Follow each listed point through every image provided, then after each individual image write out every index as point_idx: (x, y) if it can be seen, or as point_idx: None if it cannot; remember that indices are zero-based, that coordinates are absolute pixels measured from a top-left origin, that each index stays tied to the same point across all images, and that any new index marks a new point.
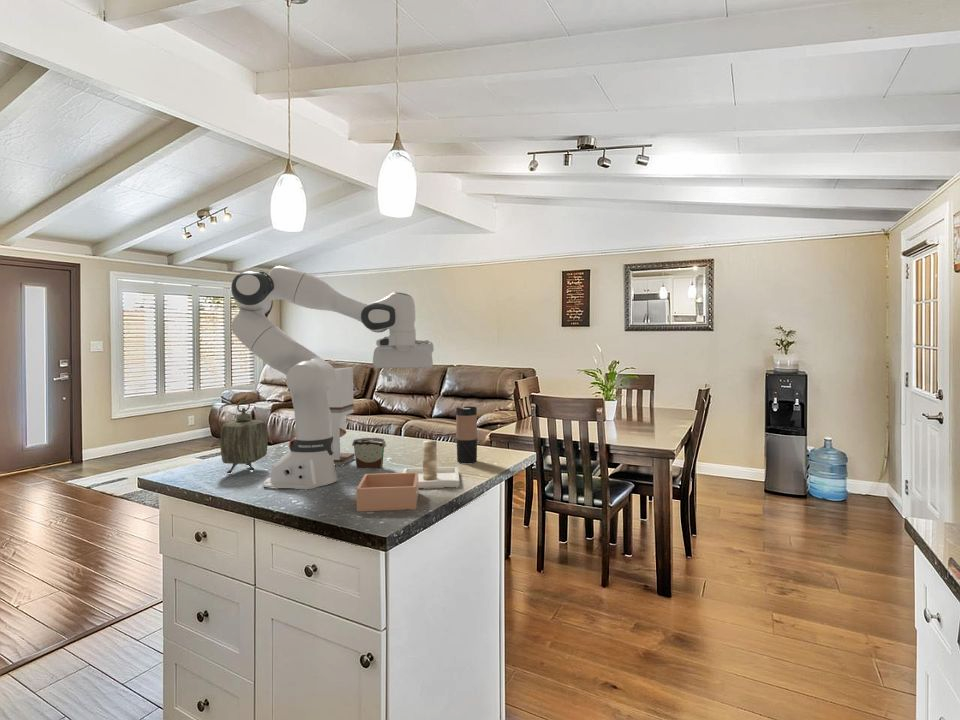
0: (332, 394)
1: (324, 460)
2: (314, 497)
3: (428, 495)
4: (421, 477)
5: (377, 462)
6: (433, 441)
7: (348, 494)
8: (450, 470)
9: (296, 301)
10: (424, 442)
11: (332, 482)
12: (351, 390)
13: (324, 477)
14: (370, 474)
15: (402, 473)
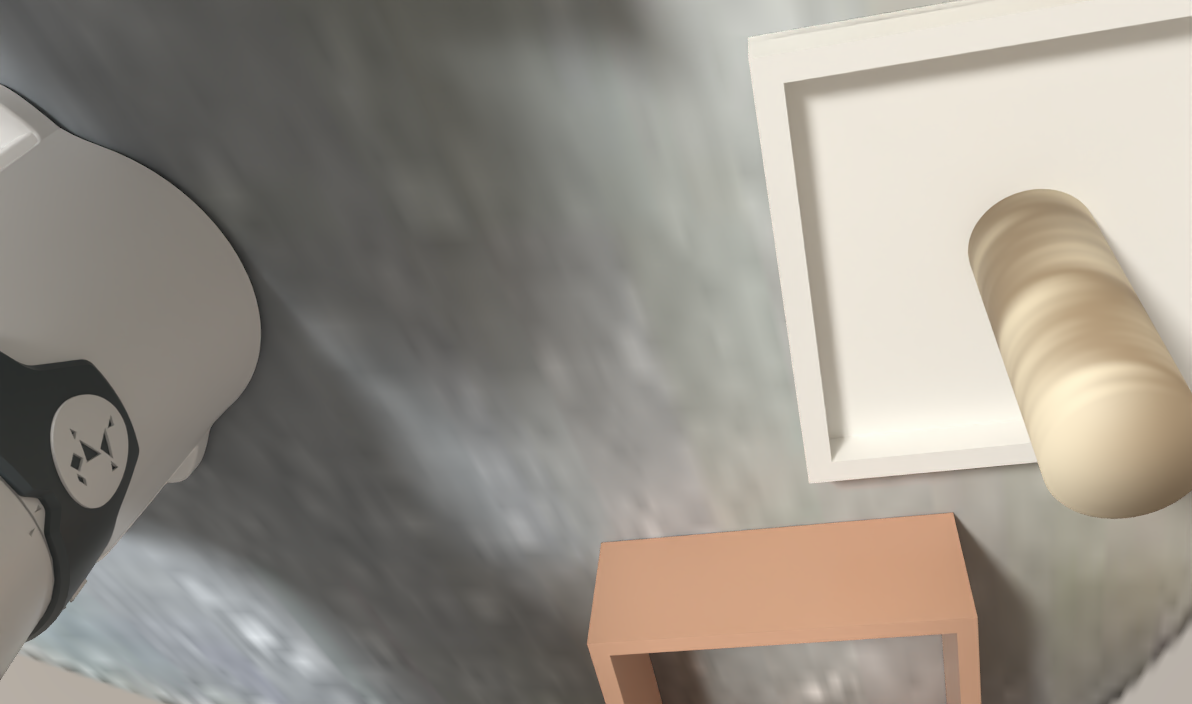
0: None
1: (144, 482)
2: (325, 587)
3: (1025, 558)
4: (947, 210)
5: None
6: (1176, 455)
7: (496, 542)
8: None
9: None
10: (1064, 501)
11: (257, 350)
12: None
13: (210, 419)
14: (631, 653)
15: (857, 636)
